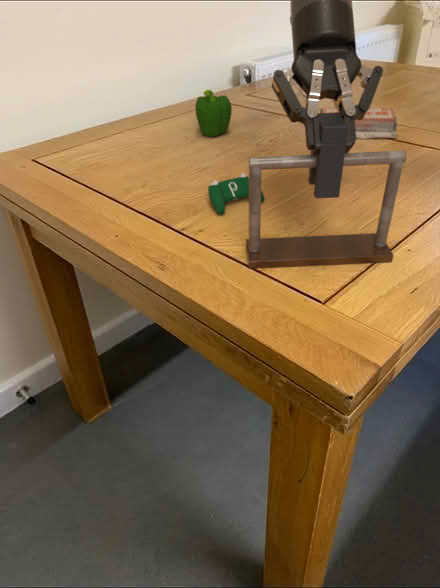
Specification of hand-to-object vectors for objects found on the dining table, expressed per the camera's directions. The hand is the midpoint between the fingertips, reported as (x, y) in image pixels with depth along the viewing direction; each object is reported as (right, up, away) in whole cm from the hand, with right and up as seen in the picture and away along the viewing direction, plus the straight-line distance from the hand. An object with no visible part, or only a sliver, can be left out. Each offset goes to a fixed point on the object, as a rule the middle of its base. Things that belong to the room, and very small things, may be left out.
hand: (331, 150), depth 56 cm
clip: (0, -3, +5) cm, 6 cm away
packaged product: (+17, +20, +51) cm, 57 cm away
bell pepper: (-15, +20, +53) cm, 59 cm away
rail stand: (0, -11, +11) cm, 16 cm away
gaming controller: (-11, -2, +25) cm, 27 cm away
